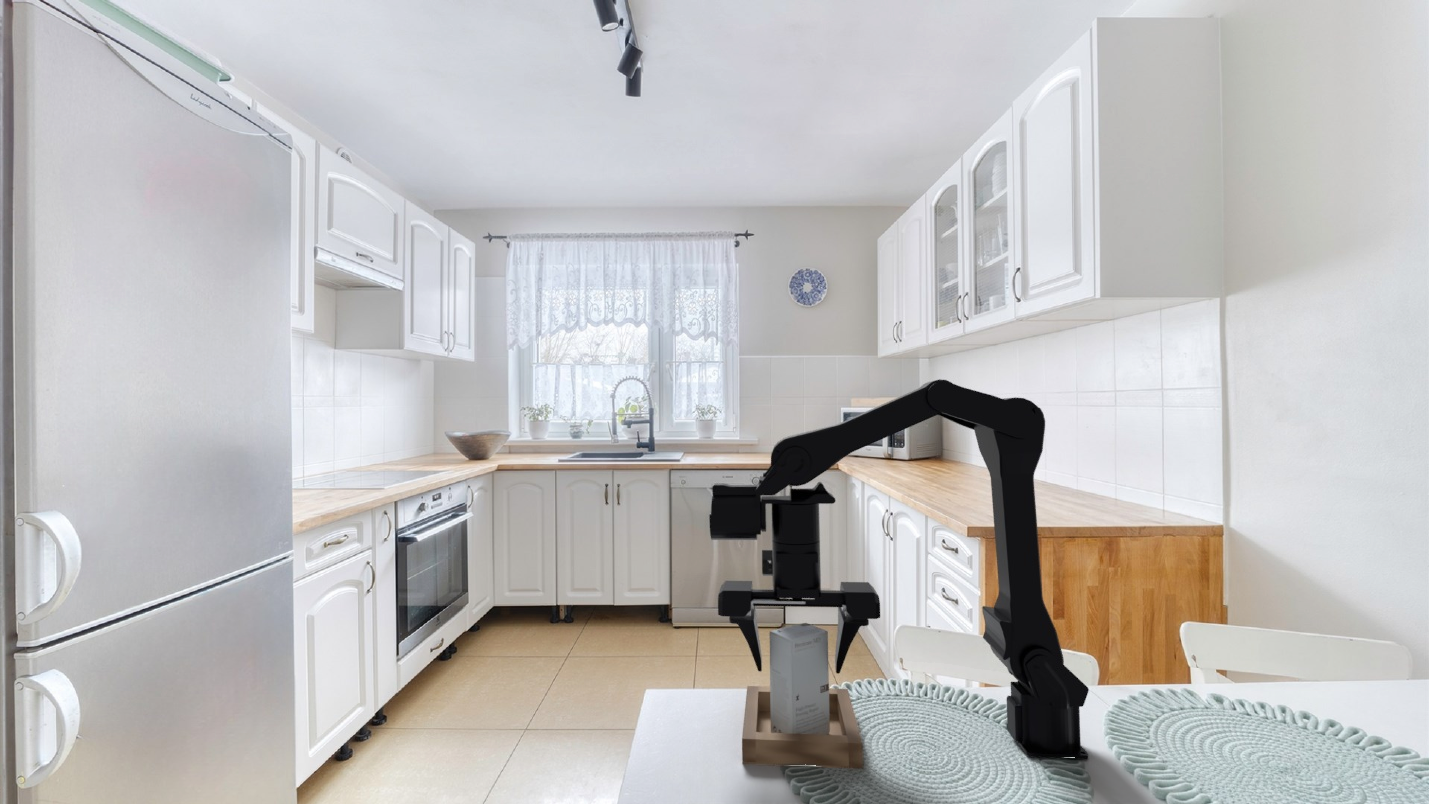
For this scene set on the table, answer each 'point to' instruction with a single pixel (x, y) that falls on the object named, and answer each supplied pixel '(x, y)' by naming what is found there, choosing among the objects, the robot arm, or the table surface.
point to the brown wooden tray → (801, 735)
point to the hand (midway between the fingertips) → (798, 671)
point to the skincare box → (799, 680)
